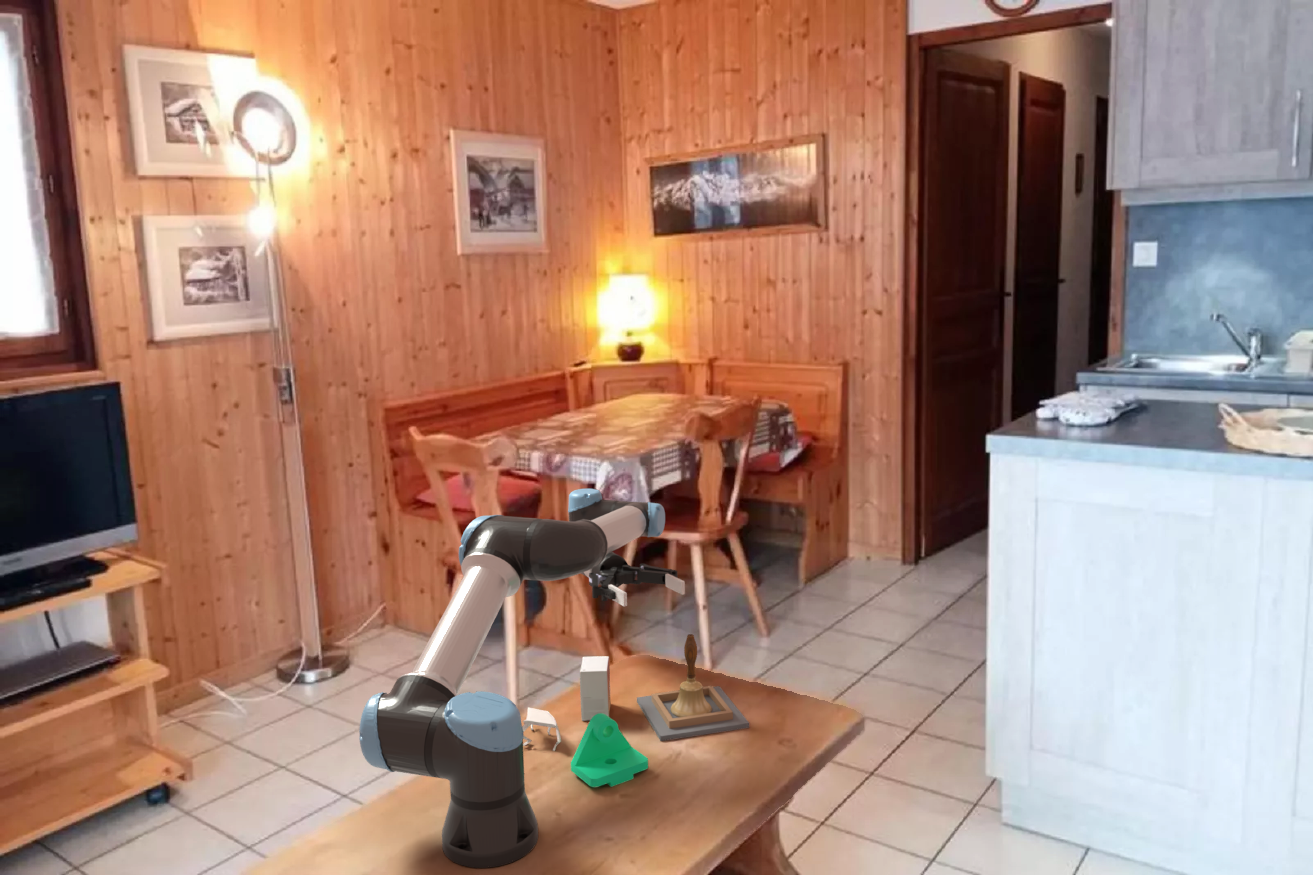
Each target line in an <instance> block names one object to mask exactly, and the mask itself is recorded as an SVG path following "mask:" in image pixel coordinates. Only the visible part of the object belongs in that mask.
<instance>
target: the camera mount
mask: <svg viewBox="0 0 1313 875" xmlns="http://www.w3.org/2000/svg"><path fill="white" fill-rule="evenodd" d="M581 737H582V738H581V739H580V741H579V743H578V745H577V746H578V747H576V750H575V753H574V755H573V757H572V758H571V759H572V760H571V761H570V771H571V772H572V773H573V774H575V776H577V777H578V778H579V779H581V780H582V781H583V782H584V783H586V784H587V785H588V786H589V787H591V788H599V787H601V786H604V785H608V786H609V787H610V788H611V787H615V786H617V785H620V784H623V783H626V782H628V781H631V780H633V779H634V775H635V774H638V773H641V772H642V771H645V770H647V769H648V768H649V759H648V757H647V756H646V755H644V754H643V753H642V752H640V751H638V750H637V749H635V748H634V747H632V745H631V744H630V742H629V741H628V740H627V738H626V737H625V736H624V734H623V733H622V731H621V730H620V729H619V724H618V722H617V721H616V720H614V719H613V718H611V717H610V716H609V717H608V716H607V715H605V714H603V713H599V714H596V715H595V716H593V717H592V719H591V720H589V722H588V724H587V726H586V728H585V731H584V733H583V735H582V736H581Z"/></svg>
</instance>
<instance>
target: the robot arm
mask: <svg viewBox="0 0 1313 875" xmlns="http://www.w3.org/2000/svg"><path fill="white" fill-rule="evenodd" d="M602 495H603V494H602V492H601V490H598V489H595V488H579V489H574V490H573V491H571V492H570V493H569V494H568V510H567V512H568V520H559V519H549V518H535V517H522V516H510V515H502V514H491V515H481V516H478V517H476V518H475V519H473V520H472V521H471V522H470V523H469V524H468V525H467V526H466V528H465V530H464V531H463V534H462V535H461V539H460V543H461V544H460V546H459V547H458V561H459V565H460V567H461V568H460V569H461V573H462V576H463V578H462V579H461V581H460V583H459V585H458V586H457V588H456V589H455V592H454V594H453V595H452V598H451V599H450V601H449V603H448V604H447V607H446V608H445V610H444V612H443V614H442V616H441V618H440V619H439V622H438V623H437V625H436V627H435V628H434V630H433V632H432V634H431V636H430V637H429V639H428V642H427V643H426V645H425V647H424V649H423V650H422V653H421V654H420V656H419V658H418V659H417V662H416V663H415V665H414V667H413V669H412V671H411V672H409V673H405V674H402V675H400V676H399V677H398V678H397V679H396V680H395V683H394V685H393V686H392V688H391V690H390V692H389V693H387V692H383V691H382V692H378V693H377V694H372V696H371V697H369V698H368V700H367V702H366V703H365V706H364V708H363V710H362V712H361V717H360V722H359V728H358V730H359V732H358V733H359V744H360V751H361V753H362V756H363V758H364V759H365V760H366V762H367V763H368V764H369V765H370V766H372V767H374V768H378V769H382V770H387V771H388V772H391V773H395V772H396V773H397V772H398V773H402V774H403V773H405V774H410V775H411V774H412V775H417V776H425V777H429V778H436V779H445V780H448V781H449V789H450V790H449V792H450V801H449V804H448V805H449V806H448V808H447V813H446V815H445V819H444V823H443V827H442V830H441V846H442V851H443V853H444V855H445V857H447V858H448V860H450V861H451V862H453V863H455V864H458V865H461V866H463V867H468V868H474V869H475V868H476V869H477V868H479V869H480V868H482V869H485V868H494V867H500V866H504V865H507V864H510V863H513V862H516V861H518V860H520V859H521V858H523V857H525V856H526V855H527V854H529V853H530V852H531V851H532V850H533V849H534V847H535V846H536V844H538V843H537V842H538V840H539V827H538V820H537V817H536V814H535V813H534V810H533V808H532V807H533V806H532V805H531V803H530V800H529V797H528V795H527V793H526V788H525V787H526V786H525V785H526V784H525V765H524V764H525V761H524V746H523V744H524V739H523V735H524V732H523V728H522V726H523V725H522V716H521V713H520V709H518V707H517V705H516V704H515V702H513V701H512V700H511V699H510V698H508V697H506V696H503V695H502V694H498V693H495V692H489V691H475V692H474V693H473V692H470V691H467V692H463V693H460V690H461V689H462V686H463V685H464V682H465V680H466V678H467V676H468V674H469V673H470V670H471V669H472V666H473V664H474V662H475V660H476V658H477V656H478V654H479V652H480V650H481V648H482V646H483V644H484V642H485V640H486V638H487V635H488V634H489V631H490V630H491V627H492V625H493V623H494V622H495V619H496V618H497V616H498V613H499V611H500V610H501V608H502V606H503V604H504V602H505V599H506V598H509V597H512V596H514V595H515V594H517V593H518V591H519V589H520V587H521V586H522V584H523V581H525V580H529V581H539V582H540V581H541V582H550V581H551V582H552V581H553V582H554V581H559V580H564V579H567V578H570V577H574V576H577V575H579V574H580V575H583V576H585V578H588V583H589V584H588V585H589V587H591V592H592V599H598V598H599V596H601V601H602V602H607V601H608V599H609V600H612V601H614V602H615V603H617V604H618V605H621V606H622V607H627V606H628V592H626V591H625V590H622V589H621V588H619V587H621V586H622V585H629V584H633V585H641V584H642V583H646V584H654V585H657V584H658V585H665V587H666V588H668V590H672V591H673V592H676V593H678V594H679V595H682V596H683V595H685V594H686V584H685V583H686V582H685V580H684V579H683V580H682V579H681V578H680V577H679V578H678V570H676V569H671V568H665V567H658V566H655V565H654V566H653V565H649V564H646V563H640V564H639V567H638V566H631V565H630V564H628V562H627V560H626V559H625V558H624V557H623V556H620V555H619V554H617V553H615V552H614V551H616V550H618V549H620V548H621V547H624V546H625V545H627V544H629V543H631V542H633V541H635V540H636V539H638V538H641V537H647V538H651V537H653V538H654V537H657V538H658V537H660V536H661V535H662V534H663V532H664V530H665V524H666V512H665V508H664V506H663V505H662V504H661V503H657V502H656V503H655V502H650V501H647V502H644V501H625V500H613V499H603V496H602ZM599 585H600V586H599ZM459 693H460V694H459Z"/></svg>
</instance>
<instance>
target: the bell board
mask: <svg viewBox="0 0 1313 875" xmlns="http://www.w3.org/2000/svg"><path fill="white" fill-rule="evenodd" d="M702 688H703V694H704V697H705V699H706V701H707V702H708V703H709V704H710V705H711V707H712V711H711V713H707V714H700V715H693V716H686V717H678V716H676V715H674V714H673V713H672V712H671V706H672V704H673V703H674V702H676V700H677V698H678V696H679V691H680V689H679V690H670V691H663V692H656V693H651V695H644V696H637V697H636V703H637V705H638V706H639V708H640V709H641V711H642V713H643V714H644V716H645V718H646V720H647V721H648V723H649V725H650V726H651V727H652V729H653V731H654V733H655V734H656V736H657V738H658V740H659V741H660V742H663V741H664V742H665V741H671V740H677V739H683V738H684V739H685V738H691V737H698V736H704V735H710V734H715V733H716V734H717V733H723V732H729V731H731V732H732V731H736V730H738V731H739V730H744V729H749V728H750V722H749V721H748V720H747V718H746V717H745V716H744V715H743V713H742V712H741V711H740V709H738V707H737V706H736V705H735V704H734V702H733V701H732V700H731V698H730V696H728V695H727V693H726V692H725V691H724V690H723V689H722V688H721V686H719V685H717V686H713V685H708V686H707V685H706V686H702Z"/></svg>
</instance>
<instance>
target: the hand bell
mask: <svg viewBox="0 0 1313 875" xmlns="http://www.w3.org/2000/svg"><path fill="white" fill-rule="evenodd" d="M683 649H684V650H683V651H684V660H685V662H686V680H684V681H683V682H681V683H680V684H679V690H680V691H679V696H678V698H677V700H676V702H674V703H673V704H672V706H671V712H672V713H673V714H674V715H676V716H678V717H686V716H693V715H700V714H707V713H711V711H712V707H711V705H710V704H709V703H708V702H707V701H706V699H705V697H704V694H703V688H702V687H703V684H702V683H701V682H700V681H697V680H696V667H695V666H696V665H695V664H696V662H697V661H696V660H697V658H698V645H697V642H696V639H695V635H694V634H693V633H690V634H689V633H688V634H687V635H686V640H685V643H684V648H683Z"/></svg>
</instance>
